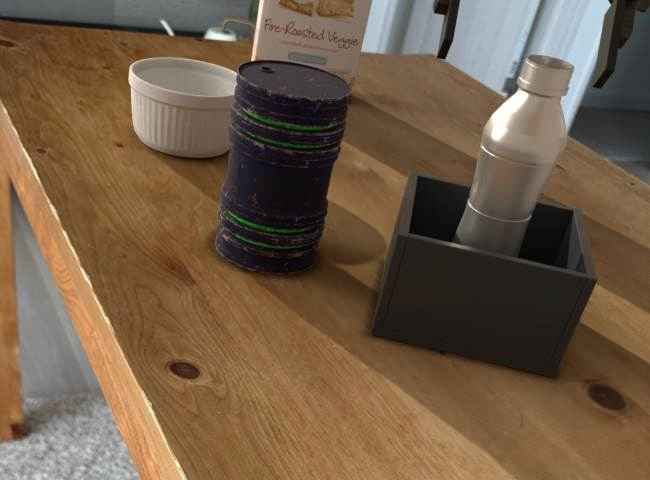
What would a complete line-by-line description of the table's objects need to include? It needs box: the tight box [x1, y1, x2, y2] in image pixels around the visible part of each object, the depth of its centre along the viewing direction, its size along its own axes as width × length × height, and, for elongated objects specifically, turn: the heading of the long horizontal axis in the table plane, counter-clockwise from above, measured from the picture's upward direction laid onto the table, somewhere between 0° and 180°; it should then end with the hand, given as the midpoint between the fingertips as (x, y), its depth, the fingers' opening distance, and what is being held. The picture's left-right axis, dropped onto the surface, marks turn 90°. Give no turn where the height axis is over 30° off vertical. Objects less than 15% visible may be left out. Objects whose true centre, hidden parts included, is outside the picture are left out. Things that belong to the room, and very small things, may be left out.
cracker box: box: [250, 0, 373, 94], centre depth 114 cm, size 14×6×21 cm, turn 92°
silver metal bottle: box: [452, 54, 575, 258], centre depth 71 cm, size 6×7×20 cm
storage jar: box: [214, 60, 353, 276], centre depth 77 cm, size 10×10×15 cm
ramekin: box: [128, 56, 237, 159], centre depth 97 cm, size 13×13×7 cm
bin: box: [370, 170, 598, 378], centre depth 75 cm, size 16×15×9 cm
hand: (523, 64), depth 74 cm, fingers open, 13 cm apart
